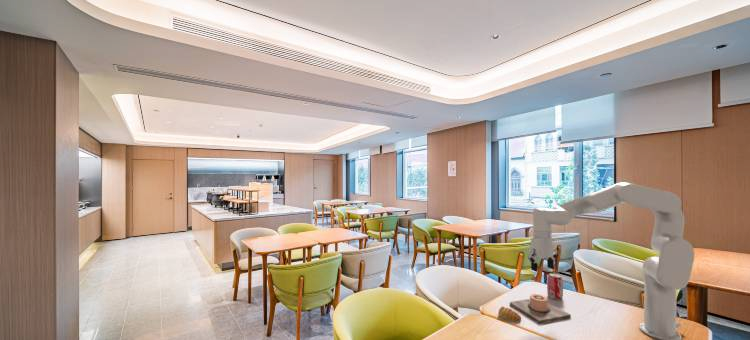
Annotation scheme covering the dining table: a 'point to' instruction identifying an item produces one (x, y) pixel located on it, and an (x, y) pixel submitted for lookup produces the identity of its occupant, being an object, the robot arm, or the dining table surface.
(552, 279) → the soda can
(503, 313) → the brown ridged oval piece
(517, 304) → the post stand
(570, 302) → the dining table surface
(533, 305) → the ring
